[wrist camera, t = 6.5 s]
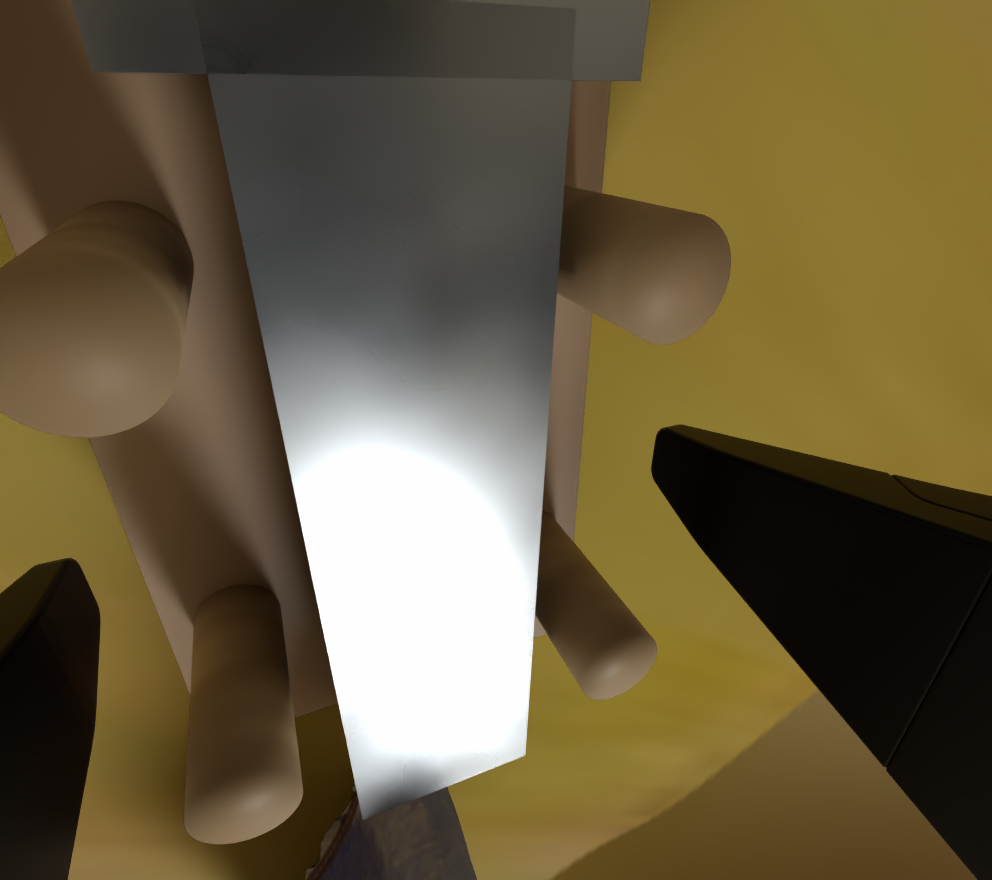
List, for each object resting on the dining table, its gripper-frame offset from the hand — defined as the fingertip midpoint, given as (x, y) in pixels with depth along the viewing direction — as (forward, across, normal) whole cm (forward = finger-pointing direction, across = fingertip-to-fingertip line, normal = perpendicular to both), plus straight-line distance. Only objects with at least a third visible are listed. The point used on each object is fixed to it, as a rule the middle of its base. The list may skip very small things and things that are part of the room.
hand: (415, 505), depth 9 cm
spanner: (+2, 0, -1) cm, 2 cm away
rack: (+4, 0, 0) cm, 4 cm away
